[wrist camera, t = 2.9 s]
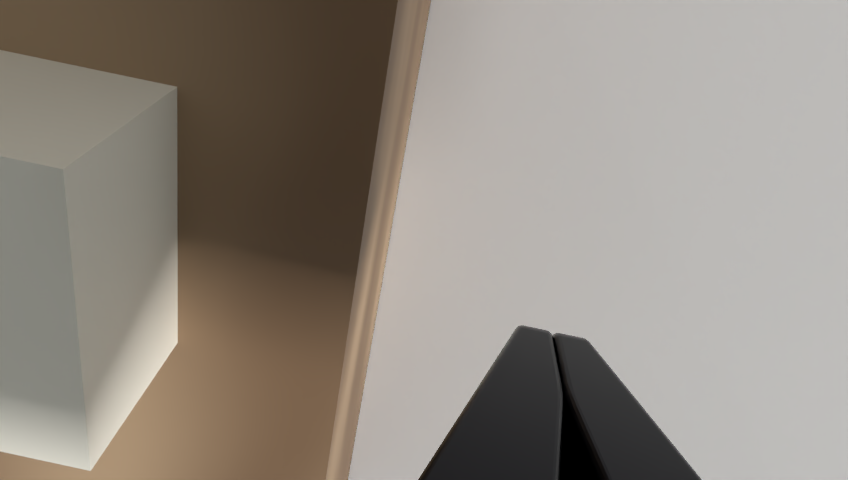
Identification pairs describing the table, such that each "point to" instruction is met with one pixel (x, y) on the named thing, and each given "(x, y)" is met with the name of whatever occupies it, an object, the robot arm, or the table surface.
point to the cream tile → (82, 253)
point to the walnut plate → (255, 219)
